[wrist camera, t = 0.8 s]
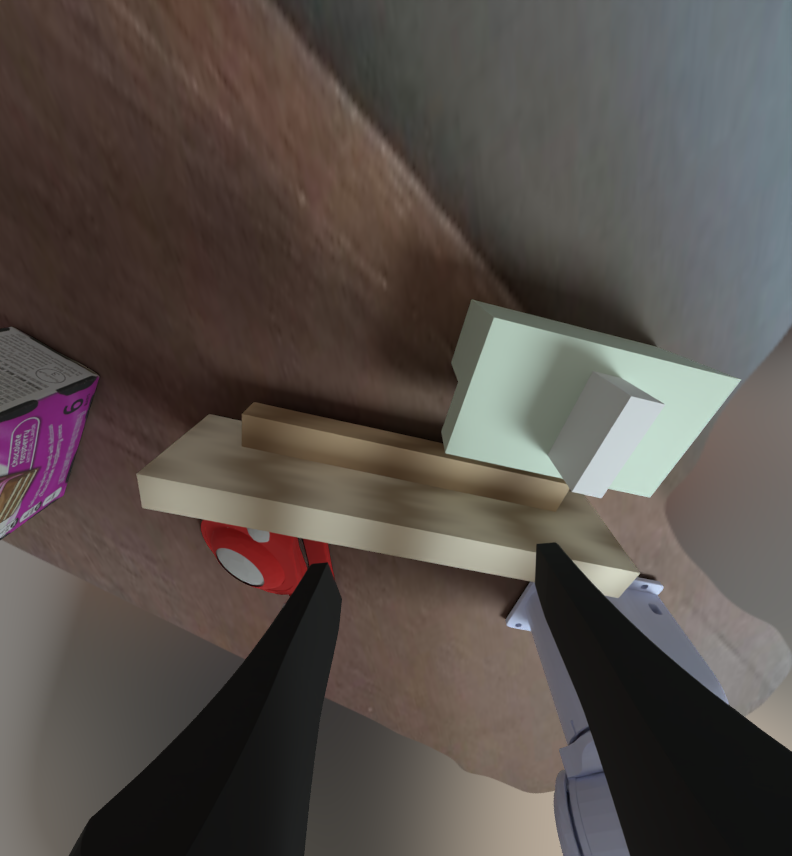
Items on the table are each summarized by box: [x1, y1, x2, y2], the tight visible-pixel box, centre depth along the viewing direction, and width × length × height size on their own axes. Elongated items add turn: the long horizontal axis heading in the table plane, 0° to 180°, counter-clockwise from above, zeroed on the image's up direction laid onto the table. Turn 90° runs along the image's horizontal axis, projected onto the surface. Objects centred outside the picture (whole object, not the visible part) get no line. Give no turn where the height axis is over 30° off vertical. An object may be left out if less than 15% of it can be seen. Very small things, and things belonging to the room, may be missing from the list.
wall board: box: [137, 402, 640, 598], centre depth 18 cm, size 24×4×6 cm, turn 77°
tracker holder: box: [201, 519, 335, 607], centre depth 23 cm, size 12×4×10 cm
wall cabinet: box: [441, 299, 741, 498], centre depth 15 cm, size 10×6×8 cm, turn 77°
